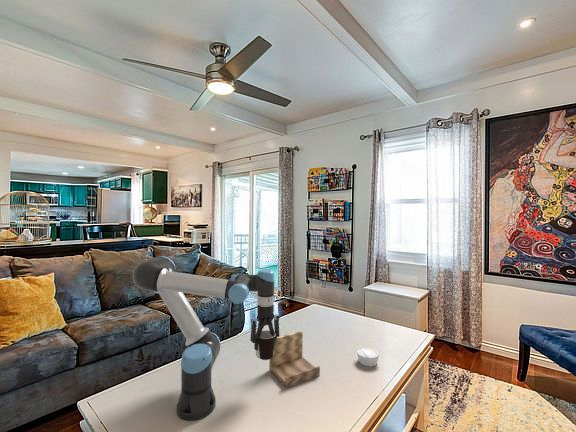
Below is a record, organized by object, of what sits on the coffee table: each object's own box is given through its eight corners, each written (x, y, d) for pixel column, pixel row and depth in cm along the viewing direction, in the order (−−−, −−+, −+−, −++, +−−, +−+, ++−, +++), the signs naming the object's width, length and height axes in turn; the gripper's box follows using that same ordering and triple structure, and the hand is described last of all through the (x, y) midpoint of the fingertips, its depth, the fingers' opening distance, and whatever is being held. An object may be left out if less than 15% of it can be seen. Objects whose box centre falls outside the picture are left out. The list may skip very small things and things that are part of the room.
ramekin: (353, 362, 152) (353, 352, 152) (363, 354, 160) (363, 345, 160) (372, 370, 144) (372, 360, 144) (382, 362, 152) (382, 352, 152)
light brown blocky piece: (286, 388, 129) (286, 353, 129) (269, 370, 143) (269, 338, 143) (319, 375, 139) (320, 343, 139) (300, 360, 153) (301, 330, 153)
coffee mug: (273, 362, 124) (273, 339, 124) (254, 360, 125) (254, 337, 125) (278, 349, 135) (279, 328, 135) (261, 347, 137) (261, 326, 136)
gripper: (249, 310, 121) (248, 364, 121) (288, 303, 131) (287, 352, 132) (242, 305, 127) (241, 356, 128) (280, 298, 137) (279, 346, 138)
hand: (264, 354), depth 130 cm, fingers closed on coffee mug, 6 cm apart
